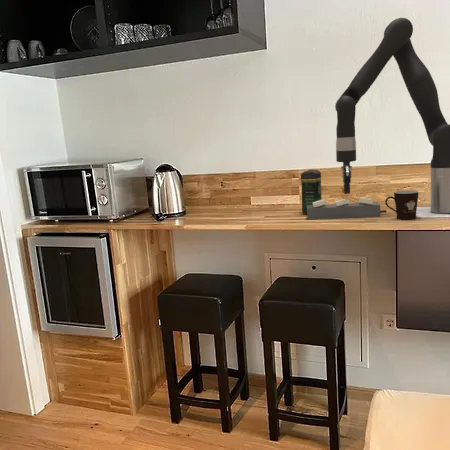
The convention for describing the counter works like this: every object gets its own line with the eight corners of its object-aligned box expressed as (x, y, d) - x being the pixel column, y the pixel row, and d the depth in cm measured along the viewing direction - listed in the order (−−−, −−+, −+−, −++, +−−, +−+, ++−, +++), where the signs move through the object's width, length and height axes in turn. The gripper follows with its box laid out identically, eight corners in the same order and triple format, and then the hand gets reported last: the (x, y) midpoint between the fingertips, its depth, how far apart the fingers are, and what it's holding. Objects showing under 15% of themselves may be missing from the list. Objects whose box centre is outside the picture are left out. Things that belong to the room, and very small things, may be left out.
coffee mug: (418, 216, 183) (418, 189, 181) (419, 220, 175) (419, 193, 173) (385, 216, 187) (385, 190, 185) (385, 221, 179) (385, 194, 177)
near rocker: (371, 203, 192) (372, 199, 191) (372, 204, 188) (373, 200, 188) (358, 200, 192) (359, 196, 192) (359, 202, 189) (360, 197, 188)
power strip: (384, 212, 195) (384, 200, 194) (387, 216, 187) (387, 203, 186) (307, 216, 201) (307, 204, 200) (307, 219, 193) (306, 207, 192)
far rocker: (326, 202, 195) (325, 198, 194) (326, 203, 191) (325, 199, 191) (313, 206, 196) (312, 202, 196) (313, 207, 192) (312, 203, 192)
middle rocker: (349, 201, 193) (348, 197, 193) (349, 202, 189) (348, 198, 189) (336, 204, 194) (335, 201, 194) (336, 206, 191) (335, 202, 190)
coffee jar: (318, 215, 201) (316, 170, 198) (300, 215, 205) (298, 171, 201) (324, 211, 210) (322, 168, 206) (307, 211, 213) (304, 168, 210)
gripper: (357, 149, 180) (358, 195, 184) (354, 147, 193) (355, 190, 196) (337, 150, 182) (338, 196, 185) (335, 149, 195) (336, 191, 198)
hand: (347, 193), depth 191 cm, fingers closed
